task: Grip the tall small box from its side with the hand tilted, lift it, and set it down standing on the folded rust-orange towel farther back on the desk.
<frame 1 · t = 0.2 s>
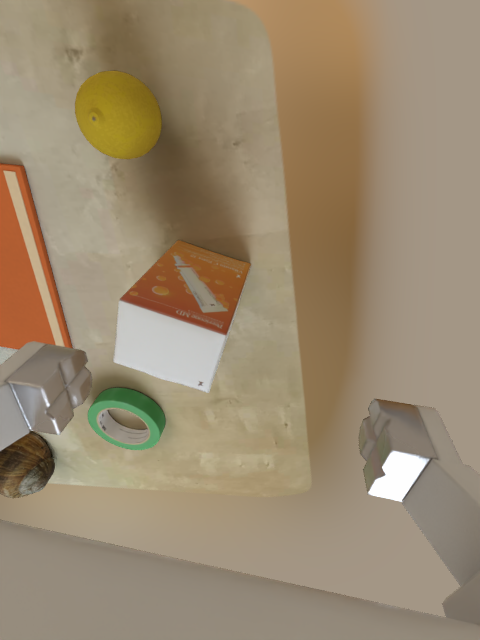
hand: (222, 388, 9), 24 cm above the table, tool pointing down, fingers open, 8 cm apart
seashell: (37, 447, 60), on the table
small box: (208, 275, 35), on the table
lemon: (144, 116, 27), on the table
tape roll: (131, 412, 50), on the table
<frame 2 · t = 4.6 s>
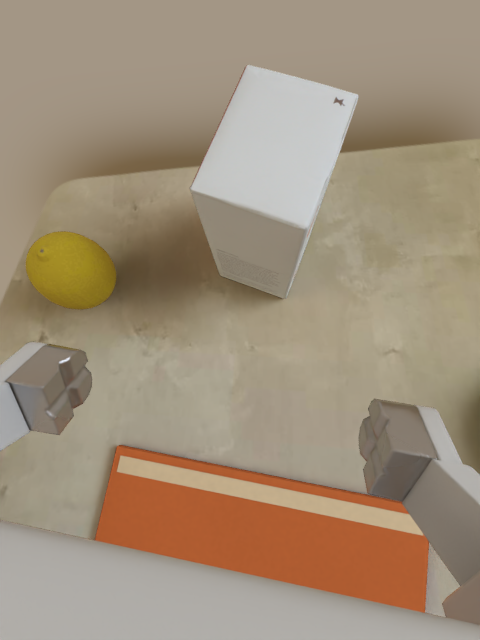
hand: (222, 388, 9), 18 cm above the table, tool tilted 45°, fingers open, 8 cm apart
small box: (266, 249, 29), on the table
lemon: (100, 288, 29), on the table
towel: (250, 590, 23), on the table
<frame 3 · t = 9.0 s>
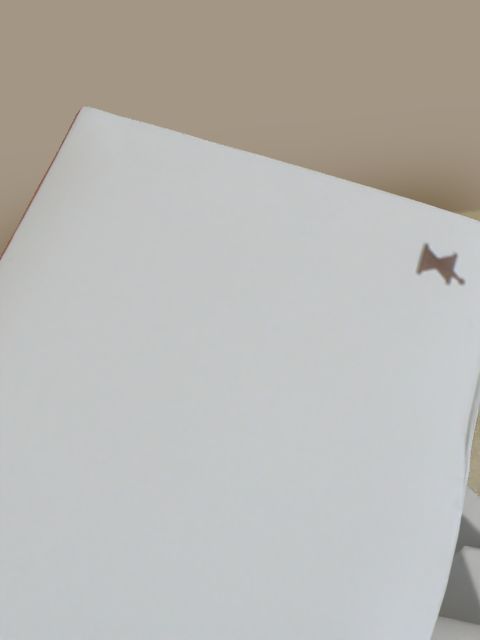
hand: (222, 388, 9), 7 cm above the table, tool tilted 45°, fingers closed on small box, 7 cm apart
small box: (236, 400, 16), on the table, touching gripper
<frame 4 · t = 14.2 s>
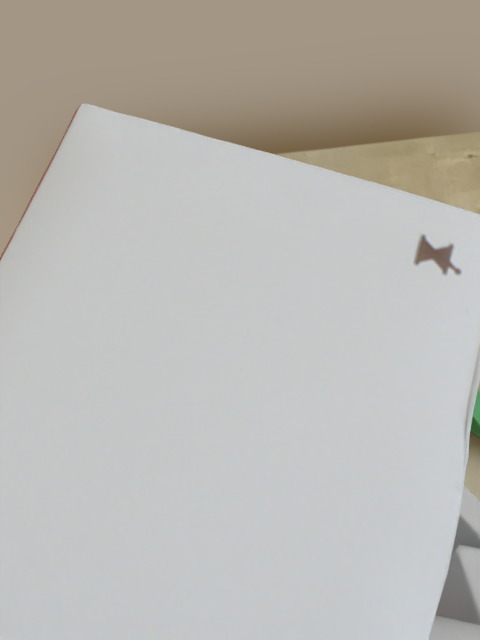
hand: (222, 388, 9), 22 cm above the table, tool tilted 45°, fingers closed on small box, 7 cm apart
small box: (234, 398, 16), point 14 cm above the table, touching gripper
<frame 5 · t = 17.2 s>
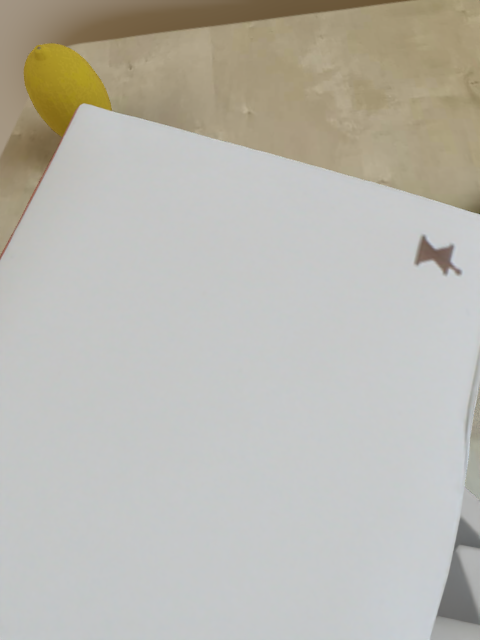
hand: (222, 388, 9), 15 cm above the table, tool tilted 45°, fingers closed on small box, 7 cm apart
small box: (234, 398, 16), point 8 cm above the table, touching gripper
lemon: (97, 139, 30), on the table
when the fingers open (8 cm above the table, at t = 19.8 s): small box stays where it is, resting on towel.
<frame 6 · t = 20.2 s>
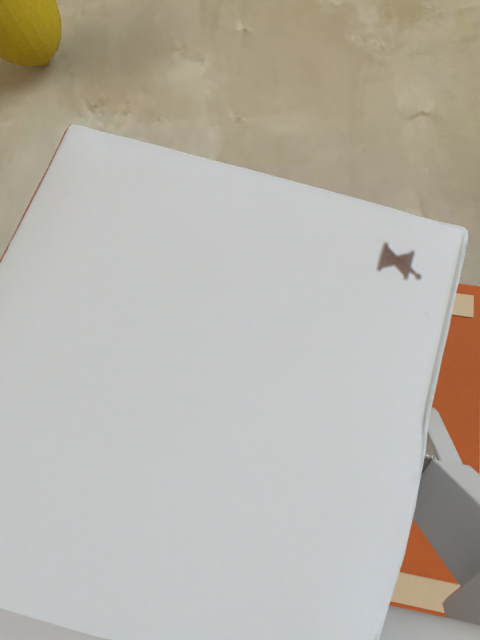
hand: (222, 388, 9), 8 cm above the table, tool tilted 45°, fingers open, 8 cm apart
small box: (233, 399, 17), resting on towel
lemon: (47, 66, 23), on the table
towel: (236, 400, 17), on the table
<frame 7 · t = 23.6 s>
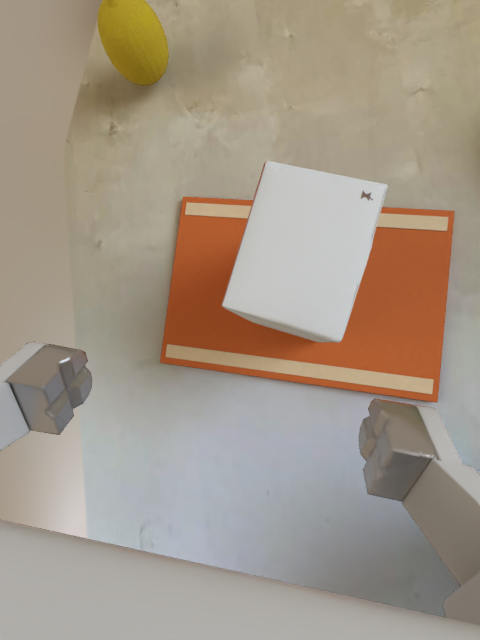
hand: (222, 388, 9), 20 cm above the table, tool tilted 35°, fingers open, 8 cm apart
small box: (297, 290, 29), resting on towel
lemon: (154, 80, 33), on the table
towel: (299, 291, 29), on the table
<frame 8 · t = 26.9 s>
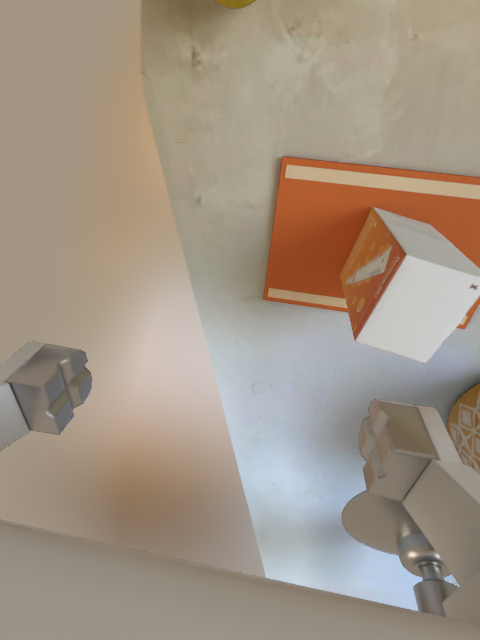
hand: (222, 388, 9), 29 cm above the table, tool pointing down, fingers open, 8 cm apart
small box: (380, 250, 35), resting on towel
desk lamp: (416, 522, 62), on the table
towel: (381, 249, 35), on the table
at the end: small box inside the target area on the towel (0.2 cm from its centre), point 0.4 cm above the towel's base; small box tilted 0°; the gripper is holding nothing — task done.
